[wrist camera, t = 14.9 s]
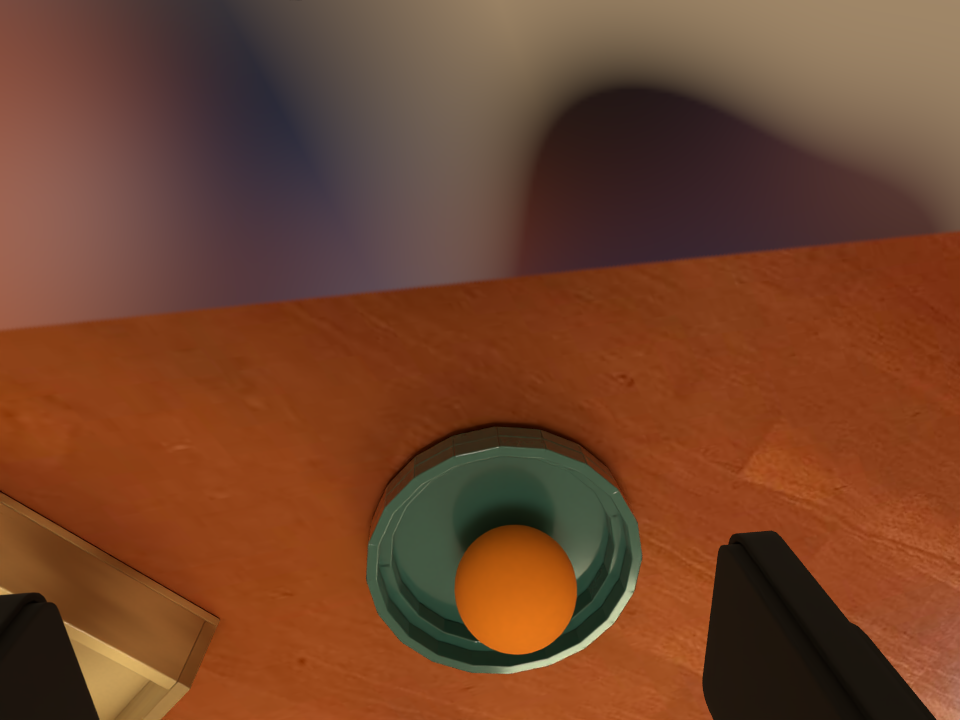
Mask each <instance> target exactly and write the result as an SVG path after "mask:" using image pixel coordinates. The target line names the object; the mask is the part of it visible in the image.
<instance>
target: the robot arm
mask: <svg viewBox="0 0 960 720" xmlns="http://www.w3.org/2000/svg"><path fill="white" fill-rule="evenodd" d="M702 684H703V692H704V697H705V700H706V704H707V706H708V709H709V711H710V713H711V715H712V717H713V720H936V718H935V717H934V716H933V715H932V714H931V712H930V711H929V710H928V709H927V707H926V706H925V705H924V704H923V703H922V701H921V700H920V699H919V698H918V696H917V695H916V694H915V693H914V692H913V690H912V689H911V688H910V687H909V685H908V684H907V683H906V682H905V681H904V679H903V678H902V677H901V676H900V674H899V673H898V672H897V671H896V670H895V668H894V667H893V666H892V665H891V664H890V662H889V661H888V660H887V659H886V657H885V656H884V655H883V654H882V653H881V651H880V650H879V649H878V648H877V646H876V645H875V644H874V643H873V642H872V640H871V639H870V638H869V637H868V636H867V635H866V634H865V633H864V632H863V631H862V630H861V629H860V628H859V627H858V626H856V625H855V624H853V623H851V622H849V621H848V619H847V618H846V617H845V616H844V614H843V613H842V612H841V611H840V609H839V608H838V607H837V606H836V604H835V603H834V602H833V601H832V600H831V598H830V597H829V596H828V595H827V593H826V592H825V591H824V590H823V588H822V587H821V586H820V585H819V583H818V582H817V581H816V580H815V578H814V577H813V576H812V575H811V573H810V572H809V571H808V570H807V569H806V567H805V566H804V565H803V564H802V562H801V561H800V560H799V559H798V557H797V556H796V555H795V554H794V552H793V551H792V550H791V549H790V547H789V546H788V545H787V544H786V543H785V541H784V540H783V539H782V538H781V536H779V535H778V534H777V533H776V532H774V531H762V532H750V533H738V534H734V535H732V536H731V538H730V540H729V544H728V545H722V546H721V547H720V548H719V551H718V557H717V565H716V573H715V582H714V590H713V598H712V606H711V614H710V622H709V630H708V638H707V646H706V655H705V663H704V671H703V682H702ZM0 720H100V719H99V716H98V713H97V711H96V708H95V705H94V703H93V700H92V697H91V695H90V692H89V689H88V687H87V684H86V681H85V679H84V676H83V673H82V671H81V668H80V665H79V663H78V660H77V657H76V655H75V652H74V649H73V647H72V644H71V641H70V639H69V636H68V633H67V631H66V628H65V625H64V623H63V620H62V617H61V615H60V612H59V609H58V608H57V606H56V605H55V604H54V603H53V602H47V601H46V599H45V597H44V596H43V595H41V594H40V593H36V592H30V593H18V594H6V595H0Z"/></svg>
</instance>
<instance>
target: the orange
mask: <svg viewBox="0 0 960 720" xmlns="http://www.w3.org/2000/svg"><path fill="white" fill-rule="evenodd" d="M576 599H577V583H576V577H575V572H574V569H573V566H572V564H571V562H570V560H569V558H568V556H567V554H566V553H565V551H564V550H563V549H562V547H561V546H560V545H559V544H558V543H557V542H556V541H555V540H554V539H553V538H551V537H550V536H549V535H547V534H546V533H544V532H542V531H540V530H538V529H535V528H532V527H529V526H525V525H505V526H500V527H497V528H494V529H491V530H489V531H487V532H486V533H484V534H483V535H481V536H480V537H478V538H477V539H476V540H475V541H474V542H473V543H472V544H471V545H470V546H469V547H468V549H467V550H466V552H465V553H464V555H463V557H462V558H461V561H460V563H459V566H458V568H457V572H456V577H455V600H456V605H457V608H458V611H459V614H460V616H461V618H462V621H463V622H464V624H465V626H466V627H467V628H468V630H469V631H470V632H471V633H472V635H473V636H474V637H475V638H476V639H477V640H479V641H480V642H481V643H483V644H484V645H486V646H487V647H489V648H491V649H494V650H496V651H499V652H502V653H506V654H517V655H519V654H528V653H532V652H535V651H538V650H540V649H543V648H544V647H546V646H548V645H549V644H551V643H552V642H553V641H555V640H556V639H557V638H558V637H559V636H560V635H561V634H562V632H563V631H564V630H565V628H566V627H567V625H568V624H569V622H570V620H571V618H572V615H573V612H574V609H575V605H576Z"/></svg>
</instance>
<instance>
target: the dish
mask: <svg viewBox="0 0 960 720" xmlns="http://www.w3.org/2000/svg"><path fill="white" fill-rule="evenodd" d="M505 525H525V526H529V527H532V528H535V529H538V530H540V531H542V532H544V533H546V534H547V535H549V536H550V537H551V538H553V539H554V540H555V541H556V542H557V543H558V544H559V545H560V546H561V547H562V549H563V550H564V551H565V553H566V554H567V556H568V558H569V560H570V562H571V564H572V566H573V569H574V572H575V577H576V583H577V599H576V605H575V609H574V612H573V615H572V618H571V620H570V622H569V624H568V625H567V627H566V628H565V630H564V631H563V632H562V634H561V635H560V636H559V637H558V638H557V639H556V640H555V641H553V642H552V643H551V644H549V645H548V646H546V647H544V648H543V649H540V650H538V651H535V652H532V653H528V654H519V655H517V654H506V653H502V652H499V651H496V650H494V649H491V648H489V647H487V646H486V645H484V644H483V643H481V642H480V641H479V640H477V639H476V638H475V637H474V636H473V635H472V633H471V632H470V631H469V630H468V628H467V627H466V626H465V624H464V622H463V621H462V618H461V616H460V614H459V611H458V608H457V605H456V600H455V577H456V572H457V568H458V566H459V563H460V561H461V558H462V557H463V555H464V553H465V552H466V550H467V549H468V547H469V546H470V545H471V544H472V543H473V542H474V541H475V540H476V539H477V538H478V537H480V536H481V535H483V534H484V533H486V532H487V531H489V530H491V529H494V528H497V527H500V526H505ZM641 561H642V550H641V543H640V536H639V529H638V522H637V520H636V518H635V516H634V514H633V512H632V510H631V508H630V506H629V504H628V502H627V500H626V498H625V496H624V494H623V493H622V491H621V489H620V487H619V486H618V484H617V482H616V481H615V479H614V477H613V475H612V474H611V472H610V470H609V469H608V468H607V467H606V466H605V465H604V464H602V463H601V462H600V461H599V460H597V459H596V458H595V457H594V456H593V455H591V454H590V453H589V452H588V451H587V450H585V449H584V448H583V447H582V446H580V445H578V444H577V443H574V442H572V441H569V440H566V439H564V438H561V437H558V436H556V435H553V434H551V433H548V432H545V431H543V430H538V429H526V428H511V427H496V426H495V427H490V428H485V429H481V430H476V431H472V432H467V433H462V434H458V435H454V436H452V437H450V438H448V439H446V440H444V441H442V442H441V443H439V444H437V445H435V446H433V447H431V448H430V449H428V450H426V451H424V452H422V453H420V454H419V455H417V456H416V457H414V458H413V459H412V460H411V461H410V462H409V463H408V465H407V466H406V467H405V468H404V469H403V470H402V471H401V472H400V473H399V474H398V475H397V476H396V477H395V478H394V479H393V480H392V481H391V482H390V483H389V484H388V486H387V487H386V489H385V492H384V494H383V496H382V498H381V501H380V503H379V505H378V507H377V509H376V512H375V514H374V516H373V518H372V522H371V528H370V535H369V541H368V553H367V571H366V581H367V584H368V587H369V590H370V593H371V596H372V599H373V601H374V604H375V607H376V610H377V613H378V615H379V616H380V617H381V618H382V620H383V621H384V622H385V623H386V624H387V626H388V627H389V628H390V629H391V630H392V632H393V633H394V634H395V635H396V636H397V638H398V639H399V640H400V641H401V642H402V643H403V644H405V645H407V646H408V647H410V648H411V649H413V650H415V651H416V652H418V653H419V654H421V655H423V656H424V657H426V658H427V659H429V660H431V661H433V662H436V663H439V664H442V665H446V666H449V667H453V668H456V669H460V670H463V671H467V672H471V673H496V674H510V673H511V674H512V673H517V672H521V671H526V670H531V669H536V668H540V667H545V666H549V665H552V664H554V663H556V662H558V661H560V660H562V659H564V658H566V657H568V656H570V655H573V654H575V653H577V652H579V651H581V650H583V649H585V648H586V647H587V646H588V645H590V644H591V643H592V642H593V641H594V640H595V639H597V638H598V637H599V636H600V635H601V634H602V633H604V632H605V631H606V630H607V629H608V628H609V627H611V626H612V625H613V624H614V623H615V621H616V620H617V618H618V617H619V615H620V614H621V612H622V610H623V609H624V607H625V606H626V604H627V603H628V601H629V599H630V598H631V596H632V595H633V593H634V591H635V586H636V582H637V578H638V574H639V569H640V565H641Z"/></svg>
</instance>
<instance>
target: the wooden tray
mask: <svg viewBox="0 0 960 720" xmlns="http://www.w3.org/2000/svg"><path fill="white" fill-rule="evenodd" d="M30 592H36V593H40V594H41V595H43V596H44V597H45V599H46V601H47V602H53V603H54V604H55V605H56V606H57V608H58V609H59V612H60V615H61V617H62V620H63V623H64V625H65V628H66V631H67V633H68V636H69V639H70V641H71V644H72V647H73V649H74V652H75V655H76V657H77V660H78V663H79V665H80V668H81V671H82V673H83V676H84V679H85V681H86V684H87V687H88V689H89V692H90V695H91V697H92V700H93V703H94V705H95V708H96V711H97V713H98V716H99V719H100V720H161V719H162V718H163V717H164V716H165V715H166V714H167V713H168V711H169V710H170V709H171V708H172V707H173V706H174V705H175V704H176V703H177V702H178V701H179V700H180V699H181V698H182V697H183V696H184V695H185V694H186V693H187V692H188V691H189V689H190V688H191V686H192V683H193V681H194V679H195V676H196V674H197V672H198V669H199V667H200V665H201V662H202V660H203V658H204V656H205V653H206V651H207V649H208V646H209V644H210V642H211V639H212V637H213V635H214V632H215V630H216V627H217V626H218V623H219V621H220V619H218V618H217V617H215V616H213V615H211V614H210V613H208V612H206V611H204V610H203V609H201V608H199V607H198V606H196V605H194V604H192V603H191V602H189V601H187V600H186V599H184V598H182V597H180V596H179V595H177V594H175V593H173V592H172V591H170V590H168V589H167V588H165V587H163V586H161V585H160V584H158V583H156V582H155V581H153V580H151V579H149V578H148V577H146V576H144V575H142V574H141V573H139V572H137V571H136V570H134V569H132V568H130V567H129V566H127V565H125V564H123V563H122V562H120V561H118V560H117V559H115V558H113V557H111V556H110V555H108V554H106V553H105V552H103V551H101V550H99V549H98V548H96V547H94V546H92V545H91V544H89V543H87V542H86V541H84V540H82V539H80V538H79V537H77V536H75V535H74V534H72V533H70V532H68V531H67V530H65V529H63V528H61V527H60V526H58V525H56V524H55V523H53V522H51V521H49V520H48V519H46V518H44V517H42V516H41V515H39V514H37V513H36V512H34V511H32V510H30V509H29V508H27V507H25V506H24V505H22V504H20V503H18V502H17V501H15V500H13V499H11V498H10V497H8V496H6V495H5V494H3V493H1V492H0V595H6V594H18V593H30Z"/></svg>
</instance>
